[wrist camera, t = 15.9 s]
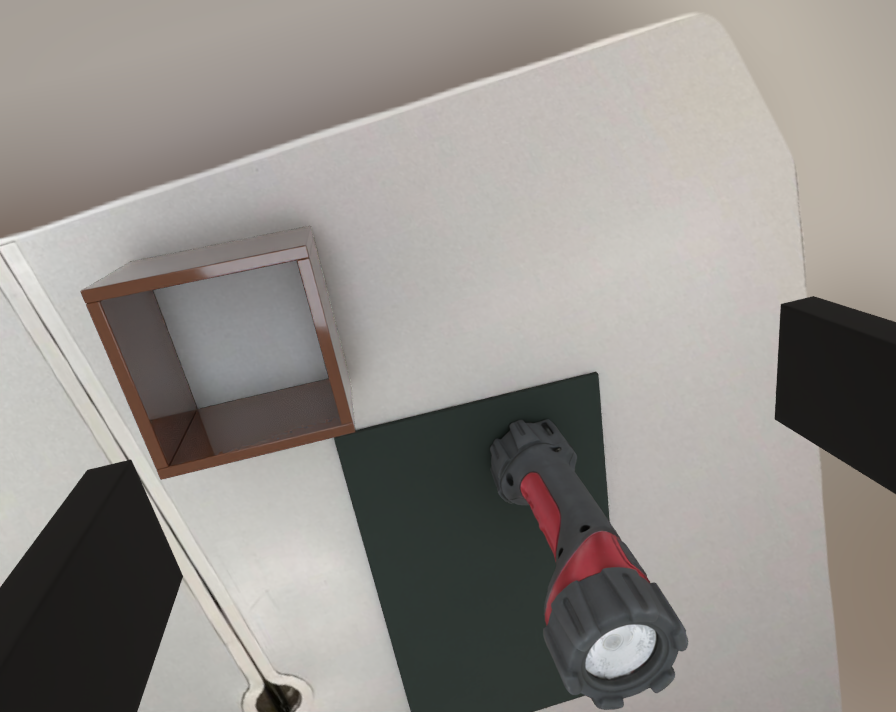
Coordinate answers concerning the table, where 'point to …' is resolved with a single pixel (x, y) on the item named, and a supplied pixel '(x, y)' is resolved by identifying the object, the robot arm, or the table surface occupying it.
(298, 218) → the table surface
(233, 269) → the brown open box
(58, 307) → the table surface
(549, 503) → the flashlight
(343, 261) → the table surface
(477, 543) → the mat
